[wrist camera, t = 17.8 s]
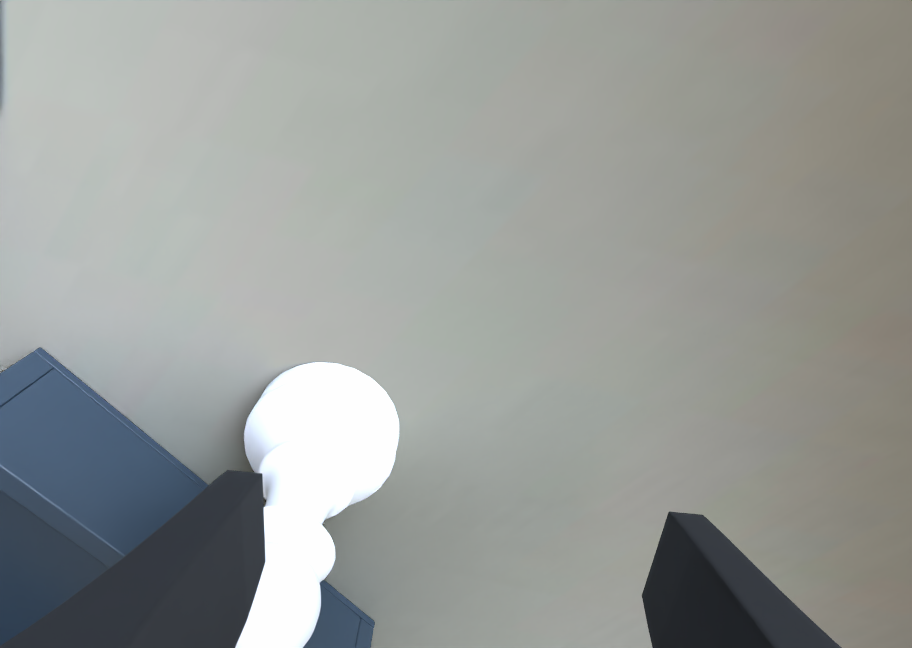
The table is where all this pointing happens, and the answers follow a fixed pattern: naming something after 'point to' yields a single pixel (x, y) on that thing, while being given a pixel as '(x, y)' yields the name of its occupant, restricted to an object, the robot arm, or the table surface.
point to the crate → (92, 499)
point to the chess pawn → (311, 485)
